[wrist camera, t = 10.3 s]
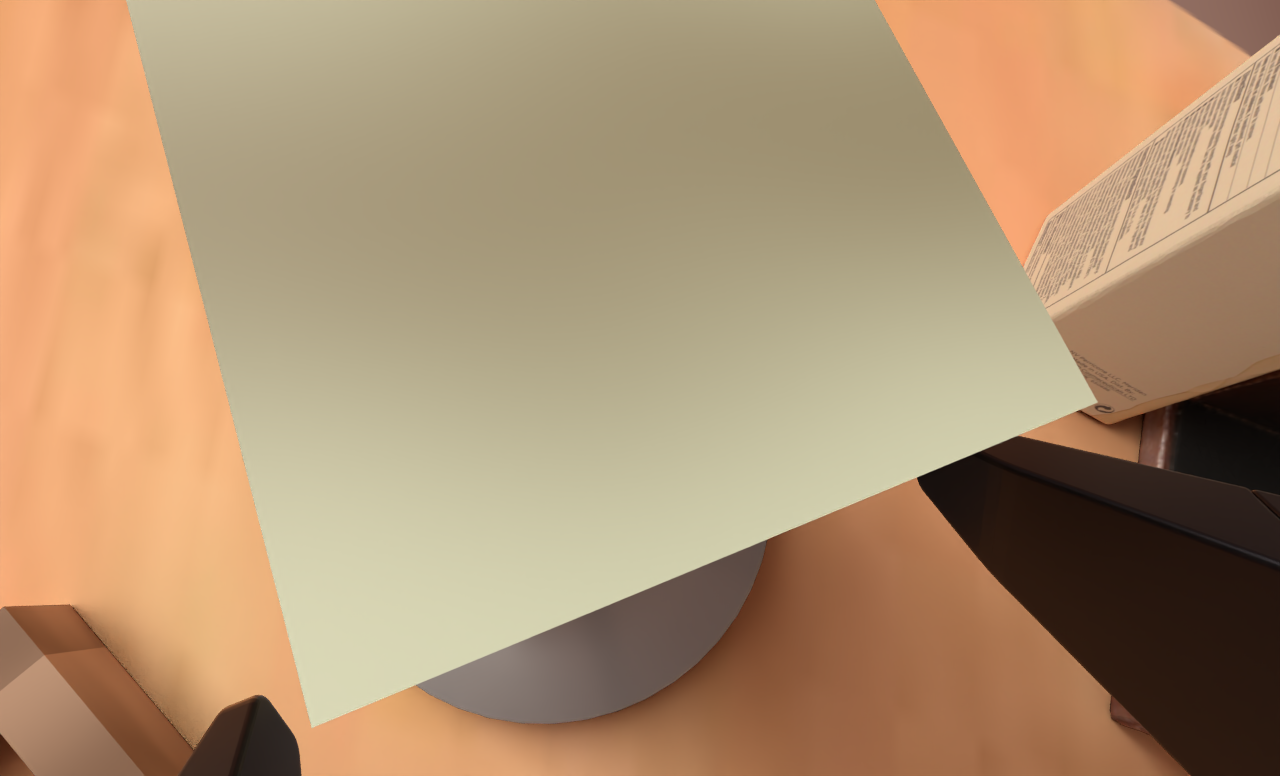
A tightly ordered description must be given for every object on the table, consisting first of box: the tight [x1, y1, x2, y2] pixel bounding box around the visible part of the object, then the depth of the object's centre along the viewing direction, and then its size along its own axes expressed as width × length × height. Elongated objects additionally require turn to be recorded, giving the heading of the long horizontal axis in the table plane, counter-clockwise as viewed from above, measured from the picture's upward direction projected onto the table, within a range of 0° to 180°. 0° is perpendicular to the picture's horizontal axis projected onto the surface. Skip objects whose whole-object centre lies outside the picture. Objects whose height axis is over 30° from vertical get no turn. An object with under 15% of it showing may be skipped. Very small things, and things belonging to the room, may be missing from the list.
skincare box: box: [1023, 35, 1280, 424], centre depth 16 cm, size 6×4×12 cm
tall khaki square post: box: [126, 0, 1098, 728], centre depth 11 cm, size 5×5×13 cm
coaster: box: [416, 540, 767, 724], centre depth 17 cm, size 11×11×1 cm
